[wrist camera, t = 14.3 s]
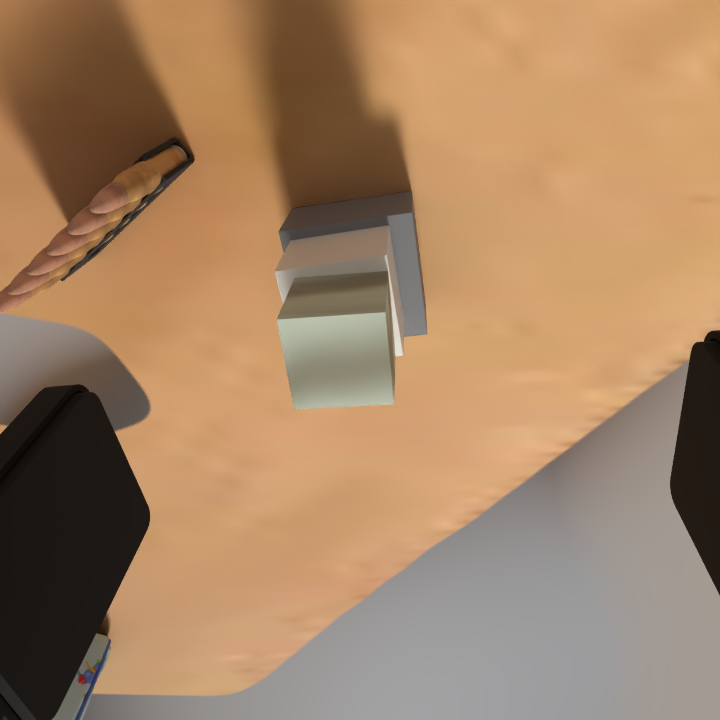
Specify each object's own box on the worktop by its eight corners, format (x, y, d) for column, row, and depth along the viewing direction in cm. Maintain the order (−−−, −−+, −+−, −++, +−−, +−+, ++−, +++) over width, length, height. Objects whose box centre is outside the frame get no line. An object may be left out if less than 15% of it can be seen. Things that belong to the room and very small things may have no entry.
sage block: (294, 278, 32) (276, 319, 28) (388, 270, 31) (385, 312, 27) (308, 359, 34) (294, 409, 30) (395, 354, 34) (394, 404, 29)
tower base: (292, 207, 40) (278, 231, 36) (411, 190, 39) (412, 212, 35) (316, 314, 44) (306, 347, 40) (425, 301, 43) (427, 334, 39)
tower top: (290, 240, 36) (274, 271, 32) (389, 225, 35) (386, 255, 31) (312, 328, 39) (300, 368, 35) (403, 316, 38) (403, 355, 34)
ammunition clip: (175, 135, 38) (88, 182, 28) (196, 159, 39) (119, 213, 28) (74, 236, 42) (-35, 309, 32) (95, 256, 43) (-5, 334, 32)
